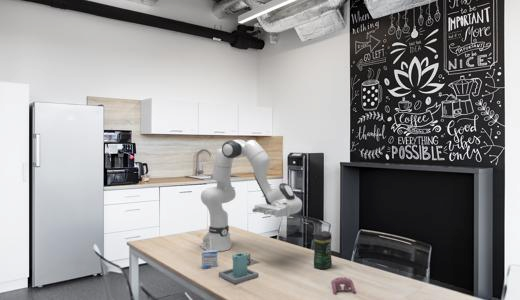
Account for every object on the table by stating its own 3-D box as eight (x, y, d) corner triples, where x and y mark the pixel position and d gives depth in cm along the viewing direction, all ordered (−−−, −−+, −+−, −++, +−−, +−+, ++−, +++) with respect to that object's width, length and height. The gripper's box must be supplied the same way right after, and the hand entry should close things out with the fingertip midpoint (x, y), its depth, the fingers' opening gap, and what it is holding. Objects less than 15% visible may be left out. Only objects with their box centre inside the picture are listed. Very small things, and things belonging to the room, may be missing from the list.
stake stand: (235, 263, 197) (235, 253, 197) (249, 259, 204) (249, 250, 204) (246, 267, 190) (246, 258, 190) (261, 263, 196) (260, 254, 196)
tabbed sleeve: (230, 275, 177) (230, 255, 177) (241, 272, 181) (240, 252, 181) (236, 278, 173) (236, 257, 173) (247, 275, 177) (246, 255, 177)
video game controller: (353, 294, 158) (351, 277, 161) (356, 293, 154) (354, 276, 157) (331, 294, 158) (329, 278, 161) (334, 294, 154) (331, 276, 157)
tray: (218, 276, 178) (218, 272, 178) (241, 269, 186) (241, 266, 186) (235, 284, 167) (235, 280, 167) (258, 277, 176) (258, 273, 176)
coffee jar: (324, 271, 183) (323, 234, 183) (311, 267, 189) (310, 232, 188) (334, 266, 190) (334, 231, 190) (321, 263, 196) (321, 229, 195)
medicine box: (202, 269, 188) (202, 252, 188) (201, 266, 193) (201, 250, 193) (217, 267, 191) (217, 251, 190) (216, 264, 195) (216, 249, 195)
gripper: (266, 200, 204) (246, 203, 195) (291, 204, 188) (271, 208, 179) (266, 211, 204) (246, 214, 195) (291, 216, 188) (271, 220, 180)
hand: (258, 211), depth 187 cm, fingers open, 8 cm apart
